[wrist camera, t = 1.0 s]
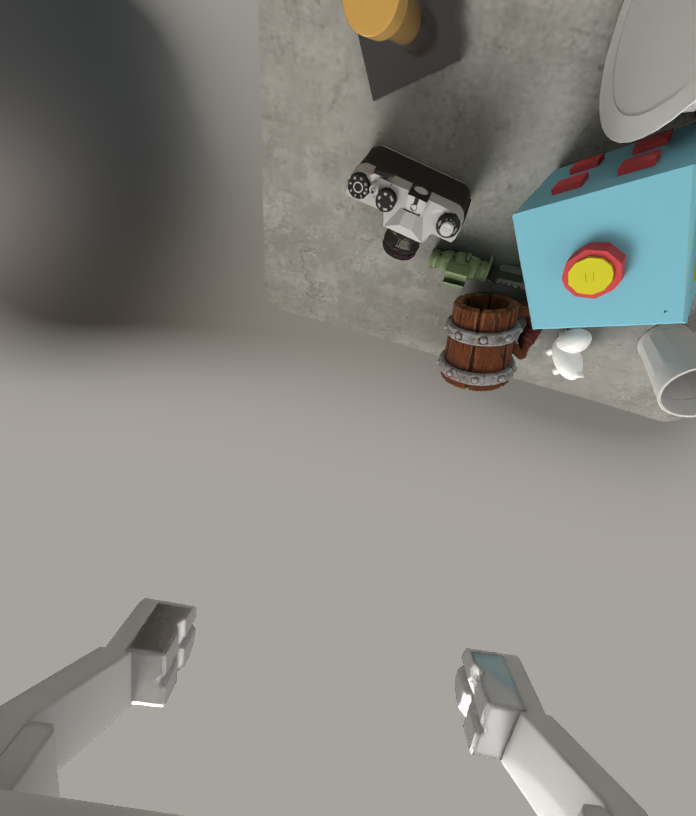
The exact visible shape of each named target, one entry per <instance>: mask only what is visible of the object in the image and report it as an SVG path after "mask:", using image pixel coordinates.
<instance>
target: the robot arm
mask: <svg viewBox="0 0 696 816" xmlns="http://www.w3.org/2000/svg"><path fill="white" fill-rule="evenodd" d="M195 618H196V607H194V606H188V605H183V604H177V603H172V602H166V601H160V600H154V599H149V598H144V599H143V600H142V601H141V602H139V604H138V605H137V606H136V608H135V609H134V610H133V612H132V613H131V614H130V616H129V617H128V618H127V620H126V621H125V622H124V623H123V625H122V626H121V627H120V629H119V630H118V631H117V633H116V634H115V635H114V637H113V638H112V639H111V641H110V642H109V643H108V645H107V646H106V647H99V648H97V649H96V650H94V651H93V652H90V653H89V654H87V655H85V656H84V657H82V658H81V659H79V660H77V661H75V662H74V663H72V664H70V665H69V666H67V667H65V668H64V669H62V670H60V671H58V672H57V673H55V674H53V675H52V676H50V677H48V678H47V679H45V680H43V681H42V682H40V683H38V684H37V685H35V686H33V687H31V688H30V689H28V690H27V691H25V692H23V693H21V694H20V695H18V696H16V697H15V698H13V699H11V700H10V701H8V702H6V703H5V704H3V705H1V706H0V816H181V815H175V814H169V813H162V812H155V811H148V810H141V809H135V808H128V807H121V806H114V805H107V804H101V803H94V802H87V801H80V800H73V799H66V798H60V796H59V783H58V773H57V771H58V770H59V769H60V768H61V767H62V766H64V765H65V764H66V763H67V762H68V761H69V760H70V759H72V758H73V757H74V756H75V755H76V754H77V753H78V752H80V751H81V750H82V749H83V748H84V747H85V746H86V745H88V744H89V743H90V742H91V741H92V740H93V739H94V738H95V737H97V736H98V735H99V734H100V733H101V732H102V731H103V730H105V729H106V728H107V727H108V726H109V725H110V724H111V723H113V722H114V721H115V720H116V719H117V718H118V717H119V716H120V715H122V714H123V713H124V712H125V711H126V710H127V709H128V708H130V707H131V704H137V705H146V706H155V707H164V706H165V704H166V702H167V700H168V698H169V696H170V694H171V692H172V690H173V688H174V685H175V684H176V679H177V671H178V670H180V669H181V668H182V667H184V665H185V663H186V661H187V659H188V657H189V655H190V652H191V649H192V646H193V642H194V637H195V627H194V626H193V624H192V623H193V621H194V620H195ZM462 660H463V664H464V665H463V666H462V667H460V668H459V669H458V671H457V675H456V681H455V692H456V699H457V703H458V707H459V709H460V710H461V711H462V713H463V714H464V715H465V717H466V719H465V721H464V724H463V727H464V731H465V735H466V739H467V743H468V747H469V751H470V754H474V755H479V756H484V757H490V758H495V759H501V760H502V761H501V762H502V764H503V765H504V767H505V768H506V770H507V771H508V772H509V774H510V775H511V777H512V778H513V780H514V781H515V783H516V784H517V786H518V787H519V789H520V790H521V792H522V793H523V795H524V796H525V798H526V799H527V800H528V802H529V803H530V805H531V806H532V808H533V809H534V811H535V812H536V814H537V815H538V816H648V815H647V813H646V812H645V810H644V809H643V808H641V806H640V805H639V804H638V803H637V802H636V801H635V800H634V799H633V798H632V797H631V796H630V795H629V794H628V793H627V792H626V791H625V790H624V789H623V788H622V787H621V786H620V785H619V784H618V783H617V782H616V781H615V780H614V779H613V778H612V777H611V776H610V775H609V774H608V773H607V772H606V771H605V770H604V769H603V768H602V767H601V766H600V765H599V764H598V763H597V762H596V761H595V760H594V759H593V758H592V757H591V756H590V755H589V754H588V753H587V752H586V751H585V750H584V749H583V748H582V747H581V746H580V745H579V744H578V743H577V742H576V741H575V739H573V737H572V736H571V735H570V734H569V733H568V732H567V731H566V730H565V729H564V728H563V727H562V726H561V725H560V724H559V723H558V722H557V721H556V720H555V719H554V718H553V717H552V716H549V715H546V714H545V712H544V710H543V708H542V705H541V703H540V701H539V699H538V697H537V695H536V693H535V690H534V688H533V686H532V684H531V682H530V680H529V678H528V676H527V673H526V671H525V669H524V667H523V665H522V663H521V661H520V659H519V658H518V657H517V656H514V655H508V654H501V653H500V654H499V653H496V652H489V651H481V650H475V649H468V648H467V649H466V650H465V651H464V653H463V655H462Z"/></svg>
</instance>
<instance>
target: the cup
mask: <svg viewBox="0 0 696 816" xmlns="http://www.w3.org/2000/svg"><path fill="white" fill-rule="evenodd" d="M637 350H638V353H639V354H640V356H641V358H642V360H643V362H644V365H645V367H646V370H647V372H648V375H649V378H650V380H651V383H652V387H653V390H654V392H655V395H656V398H657V401H658V404H659V406H660V407H661V408H662V409H663V410H664V411H665V412H667V413H669V414H672V415H675V416H680V417H696V334H695V333H694V332H693V331H692V330H691V329H690V328H689V327H688V326H686V325H684V324H681V323H678V324H662V325H659V326H656V327H654V328H652V329H650V330H649V331H647V332H646V333H645V334H644V335H643V336H642V337H641V338H640V340H639V342H638V345H637Z"/></svg>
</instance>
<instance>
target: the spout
mask: <svg viewBox="0 0 696 816" xmlns="http://www.w3.org/2000/svg"><path fill="white" fill-rule="evenodd" d="M342 3H343V9H344V13H345V16H346V19H347V21H348V23H349V24H350V26H351V27H352V28H353V30H354V31H355V32H357V33H358V34H360V35H362V36H364V37H367V38H369V39H372V40H375V41H384V40H386V39H388V38H390V37H391V36H393V35H394V34H395V33H396V32H397V30H398V29H399V27H400V26H401V24H402V22H403V20H404V17H405V14H406V10H407V5H408V0H342Z"/></svg>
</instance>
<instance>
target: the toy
mask: <svg viewBox="0 0 696 816" xmlns="http://www.w3.org/2000/svg"><path fill="white" fill-rule="evenodd" d="M512 219H513V224H514V230H515V235H516V241H517V246H518V252H519V257H520V263H521V268H522V273H523V279H524V284H525V290H526V295H527V301H528V306H529V312H530V317H531V323H532V328H533V329H556V328H581V327H605V326H629V325H654V324H678V323H687V321H688V317H689V314H690V310H691V307H692V303H693V300H694V296H695V293H696V123H693V124H690V125H687V126H684V127H681V128H678V129H675V130H673V129H672V130H669V131H666V132H663V133H660V134H657V135H654V136H651V137H648V138H646V139H643V140H640V141H638V142H637V143H634V144H631V145H628V146H625V147H622V148H619V149H616V150H613V151H610V152H607V153H601V154H598V155H595V156H592V157H589V158H587V159H584V160H581V161H578V162H576V163H574V164H571V165H569V166H566V167H563V168H560V169H557V170H554V171H553V173H552V174H551V175H550V176H549V177H548V178H547V179H546V180H545V181H544V182H543V183H542V184H541V186H540V187H539V188H538V189H537V190H536V191H535V192H534V193H533V194H532V195H531V196H530V197H529V198H528V200H527V201H526V202H525V203H524V204H523V205H522V206H521V207H520V208H519V209H518V210H517V211H516V212H515V214H514V215H513V216H512Z"/></svg>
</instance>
